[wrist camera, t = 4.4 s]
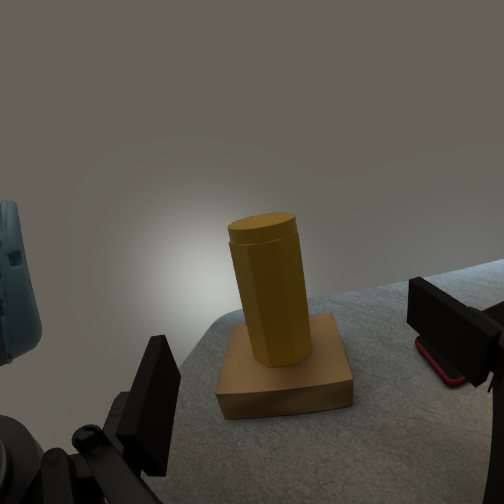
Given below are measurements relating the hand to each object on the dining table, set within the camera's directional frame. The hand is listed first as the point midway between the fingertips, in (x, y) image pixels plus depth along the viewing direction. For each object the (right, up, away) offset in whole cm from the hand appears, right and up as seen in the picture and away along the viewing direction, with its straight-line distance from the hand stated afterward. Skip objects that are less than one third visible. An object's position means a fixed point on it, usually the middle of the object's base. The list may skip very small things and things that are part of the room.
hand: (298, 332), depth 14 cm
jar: (0, -4, +10) cm, 10 cm away
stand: (+1, -7, +10) cm, 12 cm away
